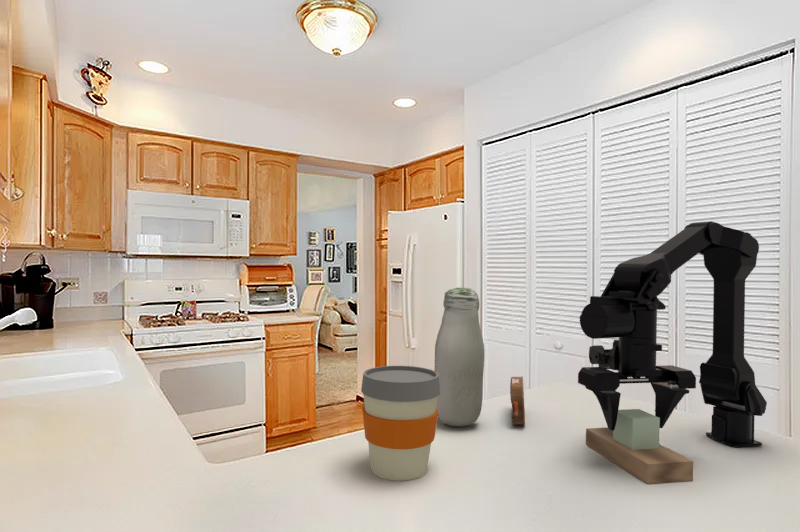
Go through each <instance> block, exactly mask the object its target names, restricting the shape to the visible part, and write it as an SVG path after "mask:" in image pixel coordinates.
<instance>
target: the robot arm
mask: <svg viewBox="0 0 800 532" xmlns="http://www.w3.org/2000/svg"><path fill="white" fill-rule="evenodd" d="M759 251H760V244H759V242H758V240H757V238H756V237H754V236H753V235H752V234H751V233H749V232H747V231H746V232H745V231H742V230H739V229H736V228H732V227H727V226H723V224H720V223H719V222H715V221H712V220H709V221H700V222H690V223H689V224H686V225H685V226H684V229H683V230H681V231H679V232H678V233H677V234H676V235H674V236H673V237H671V238H670V239H668V240H667V241H666V242H664V243H663V244H661V245H660V246H659V247H657V248H656V249H654V250H653V251H651V252H650V253H647V254H644V255H641V256H636V257H633V258H630V259H627V260H624V261H622V262H620V263H619V264H617V266H616V267H615V268H614V270H613V274H612V276H611V277H610V278H609V280H608V283H607V284H606V286H605V288H604V290H603V291H602V293H601V295H600V296H597V295H592V296H589V303H588V304H586V305H585V307H583V308H582V311H581V314H580V315H579V325H580V328H581V331H582V332H583V333H584V335H585V336H587V338H590V339H594V340H596V339H597V340H598V339H613V342H612V347H611V348H610V349H608V348H607V349H605V347H604V346H603V345H601V344H600V345H597V344H596V345H590V346H589V347H588V348H589V349H588V350H589V351H588V358H589V363H590V364H591V365H597V366H587V367H585V366H584V367H581V369H580V370H579V371H578V373H577V384H580V385H582V386H584V387H585V389H587V390H588V391H591V392H592V394H594V395H595V397H596V399H597V400H598V403H599V406H600V409H601V411H602V414H603V417H604V420H605V422H606V425H607V428H608V429H610V430H611V431H614V429H615V426H616V422H617V415H618V410H619V407H620V402H621V401H620V400H621V395H622V394H621V392H619V391H617V390H618V389H619V387H620V385H622V384H625V385H627V384H650V386H651V388H652V390H653V392H654V395H655V402H654V407H655V408H654V410H655V411H654V413H655V414H654V416H656V417H659V418H660V429H663V428H664V426H665V425H666V422H668V420H669V418H670V417H671V415H672V413H673V412H674V410H675V409H676V407H677V406H678V404H680V402H681V400H682V399H683V398H684V396H685V395H686V394H687V395H688V394H689V393H690V389H696V388H697V377H696V375H695V374H694V372H693V371H692V370H691V369H687V368H683V367H679V366H675V365H657V352H662V351H663V345H662V344H660V343H657V337H658V336H657V335H658V333H657V331H658V330H657V328H658V327H657V326H658V311H661V310H662V311H663V310H666V305H665V304H664V303H663V301H661V300H660V299H659V298H658V296H660V295H661V294H662V293H663V292H664V291H665V290H666V288H667V287H668V286H669V285H670V284H671V282H672V275H673V274H674V272H675V271H677V270H678V269H680V268H681V267H683V266H684V265H685V264H686V263H688V262H689V261H690V260H691V259H693V258H694V257H696V256H697V255H698V254H699V255H701V256H703V266H704V267H705V268H706V270H707V272H708V273H709V275H710V276H711V278H712V279H713V295H712V297H713V301H712V305H713V306H712V307H713V308H712V309H713V311H712V354H711V356H710V357H709V358H708V359H707V360H706V362H701V363H700V365H699V370H700V371H699V374H700V375H699V380H698V383H699V384H700V388H701V394H702V397H703V398H702V400H703V403H704V405H711V406H712V415H711V431H710V432H705V436H707V437H709V438H712V439H714V440H717V441H718V442H720V443H723V444H725V445H728V446H730V447H733V448H739V447H740V448H741V447H742V448H743V447H753V446H754V447H756V446H757V447H759V446H762V444H763V442H761V441H759V440H756V439H755V416H759V417H762V416H763V415H764V414H765V413H766V409H767V403H768V402H767V400H766V399H765V397H764V396H763V394H762V392H761V391H760V389H759V387H758V386H757V385H756V378H755V377H756V376H755V371H754V370H753V368H752V366H751V365H750V364H749V363H750V362H748V360H747V359H746V357H745V317H746V316H745V314H746V313H745V309H746V307H745V306H746V303H745V302H746V298H745V297H746V279H747V278H748V277H749V276H750V274H751V273H752V272H753V270H754V269H755V267H756V266H757V259H758V254H759ZM614 338H615V339H614ZM616 338H618V339H616Z"/></svg>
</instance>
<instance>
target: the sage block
mask: <svg viewBox="0 0 800 532" xmlns="http://www.w3.org/2000/svg"><path fill="white" fill-rule="evenodd" d="M660 429H661V428H660V418H659V417H656V416H655V414H652V413H650V412H647V411H644V410H643V409H640V408H629V409H628V408H627V409H618V415H617V422H616V426H615V429H614V431H613V439H614V440H616V441H617V442H619V443H621V444H623V445H624V446H626V447H628V448H630V449H632V450H639V449H656V448H659V444H660V434H661V433H660V432H661V431H660Z"/></svg>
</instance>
